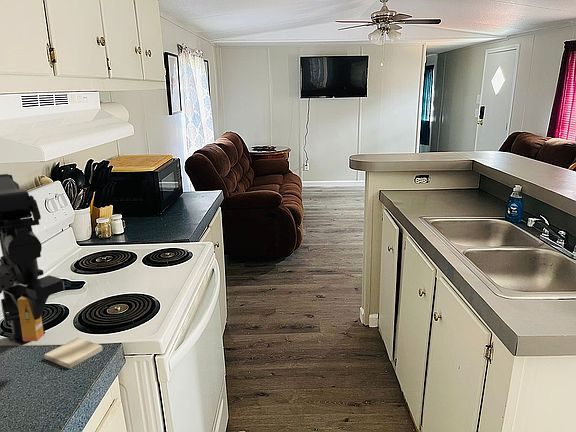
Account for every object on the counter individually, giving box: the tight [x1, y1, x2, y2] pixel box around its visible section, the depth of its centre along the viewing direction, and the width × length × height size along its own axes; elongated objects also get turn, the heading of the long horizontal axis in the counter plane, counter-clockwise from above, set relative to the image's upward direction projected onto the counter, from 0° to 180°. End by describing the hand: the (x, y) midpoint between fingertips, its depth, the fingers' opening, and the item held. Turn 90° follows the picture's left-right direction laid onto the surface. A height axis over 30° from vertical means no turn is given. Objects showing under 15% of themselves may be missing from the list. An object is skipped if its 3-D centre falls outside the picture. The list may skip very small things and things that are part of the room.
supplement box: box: [17, 297, 45, 342], centre depth 98 cm, size 3×4×10 cm
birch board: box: [44, 336, 104, 369], centre depth 107 cm, size 9×9×1 cm
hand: (30, 316), depth 98 cm, fingers closed on supplement box, 4 cm apart
